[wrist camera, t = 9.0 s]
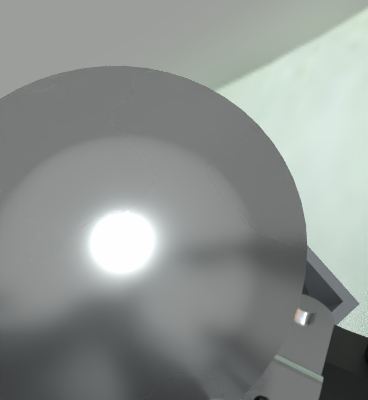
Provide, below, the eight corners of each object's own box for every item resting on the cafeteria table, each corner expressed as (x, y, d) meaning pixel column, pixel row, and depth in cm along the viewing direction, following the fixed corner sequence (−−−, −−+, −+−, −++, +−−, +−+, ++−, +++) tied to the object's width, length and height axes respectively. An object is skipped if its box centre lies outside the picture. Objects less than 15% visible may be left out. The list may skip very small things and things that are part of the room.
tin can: (215, 256, 18) (310, 89, 6) (202, 385, 16) (310, 502, 4) (101, 239, 18) (-16, 42, 7) (70, 366, 16) (-203, 424, 4)
